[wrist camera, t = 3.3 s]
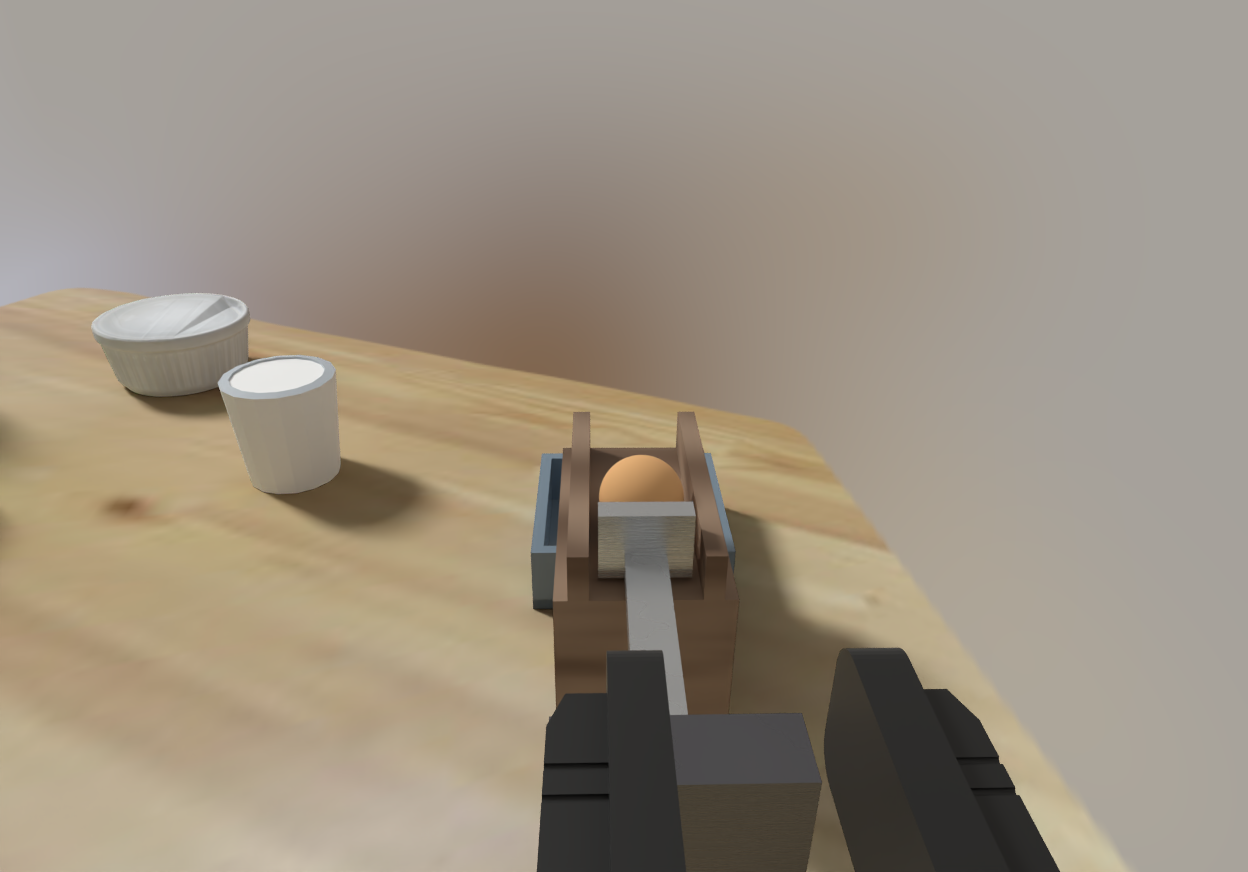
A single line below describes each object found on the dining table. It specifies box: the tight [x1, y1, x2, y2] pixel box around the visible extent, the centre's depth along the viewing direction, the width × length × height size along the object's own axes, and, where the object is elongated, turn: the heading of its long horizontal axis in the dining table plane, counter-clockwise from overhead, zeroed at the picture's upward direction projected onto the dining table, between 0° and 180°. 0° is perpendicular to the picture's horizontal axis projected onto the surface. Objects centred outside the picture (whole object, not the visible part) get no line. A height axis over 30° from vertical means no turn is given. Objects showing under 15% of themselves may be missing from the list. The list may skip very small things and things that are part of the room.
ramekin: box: [92, 293, 250, 397], centre depth 68 cm, size 11×11×5 cm
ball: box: [599, 455, 684, 502], centre depth 35 cm, size 4×4×4 cm
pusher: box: [549, 502, 822, 872], centre depth 27 cm, size 14×6×10 cm, turn 2°
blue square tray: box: [531, 453, 736, 609], centre depth 47 cm, size 10×10×4 cm
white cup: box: [218, 355, 341, 494], centre depth 54 cm, size 7×7×7 cm
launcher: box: [553, 412, 739, 715], centre depth 38 cm, size 12×7×10 cm, turn 2°
